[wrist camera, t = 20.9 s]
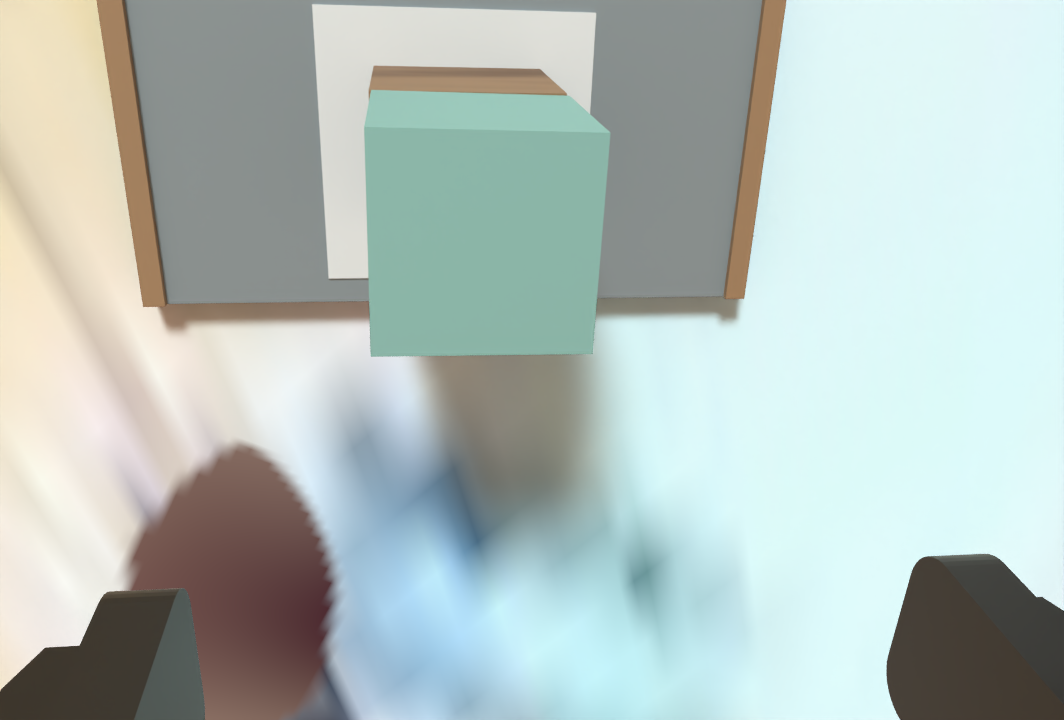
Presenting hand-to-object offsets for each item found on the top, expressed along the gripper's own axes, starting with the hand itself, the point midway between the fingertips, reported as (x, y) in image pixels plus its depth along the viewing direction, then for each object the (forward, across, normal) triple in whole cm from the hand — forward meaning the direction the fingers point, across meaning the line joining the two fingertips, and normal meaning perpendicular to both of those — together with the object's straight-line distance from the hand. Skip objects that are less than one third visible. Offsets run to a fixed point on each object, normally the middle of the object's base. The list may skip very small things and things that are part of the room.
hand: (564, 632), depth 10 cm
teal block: (+20, 0, 0) cm, 21 cm away
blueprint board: (+28, 0, +1) cm, 28 cm away
